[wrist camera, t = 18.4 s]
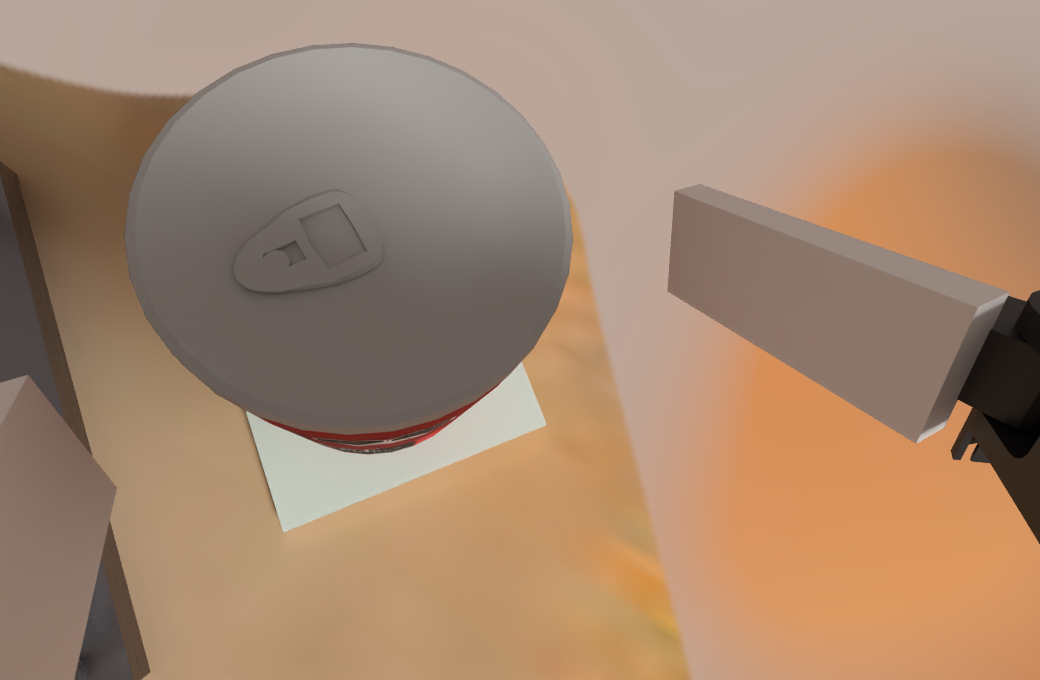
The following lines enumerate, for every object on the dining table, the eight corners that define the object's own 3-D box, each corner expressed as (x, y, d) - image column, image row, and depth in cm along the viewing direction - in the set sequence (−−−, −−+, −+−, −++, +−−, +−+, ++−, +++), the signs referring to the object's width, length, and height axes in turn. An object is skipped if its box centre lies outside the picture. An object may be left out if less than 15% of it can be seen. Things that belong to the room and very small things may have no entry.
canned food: (216, 355, 19) (0, 201, 8) (383, 217, 21) (379, -29, 11) (375, 504, 19) (360, 540, 8) (521, 347, 21) (649, 226, 11)
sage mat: (287, 530, 18) (283, 532, 18) (207, 273, 20) (200, 265, 19) (541, 426, 22) (546, 425, 21) (455, 210, 23) (457, 201, 22)
